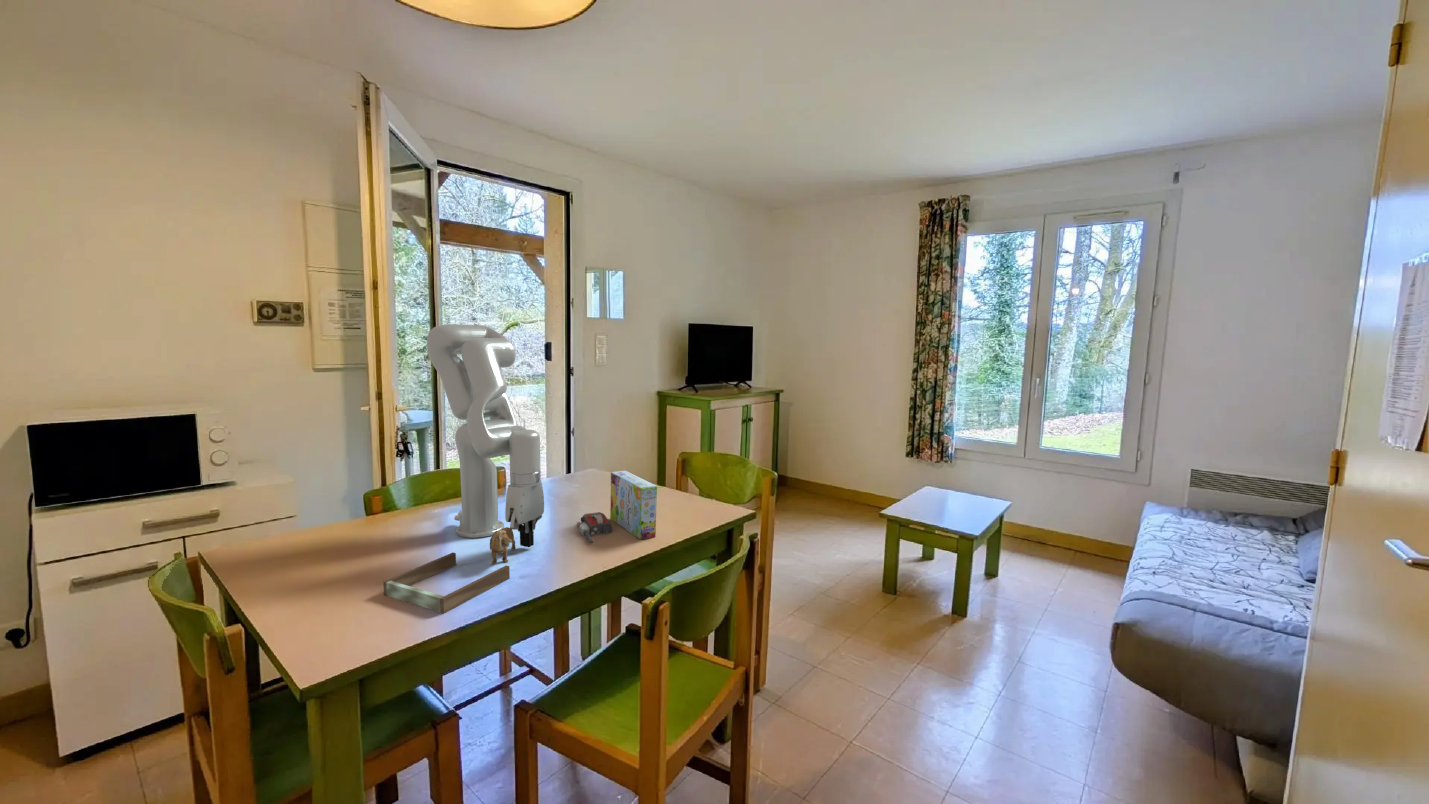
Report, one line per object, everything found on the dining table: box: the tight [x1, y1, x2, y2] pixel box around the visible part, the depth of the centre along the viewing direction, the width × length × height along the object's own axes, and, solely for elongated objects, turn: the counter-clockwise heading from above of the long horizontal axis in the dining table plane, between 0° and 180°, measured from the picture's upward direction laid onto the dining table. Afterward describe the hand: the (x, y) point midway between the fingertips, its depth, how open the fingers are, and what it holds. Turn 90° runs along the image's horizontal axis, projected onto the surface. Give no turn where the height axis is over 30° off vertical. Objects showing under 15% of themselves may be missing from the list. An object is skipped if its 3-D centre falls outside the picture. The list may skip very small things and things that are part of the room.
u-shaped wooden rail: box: [383, 552, 511, 614], centre depth 124 cm, size 18×18×3 cm
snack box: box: [609, 470, 658, 540], centre depth 163 cm, size 21×6×15 cm, turn 34°
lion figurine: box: [489, 526, 517, 565], centre depth 140 cm, size 15×5×9 cm, turn 15°
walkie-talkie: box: [579, 511, 613, 544], centre depth 160 cm, size 9×4×20 cm
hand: (526, 545), depth 146 cm, fingers closed
